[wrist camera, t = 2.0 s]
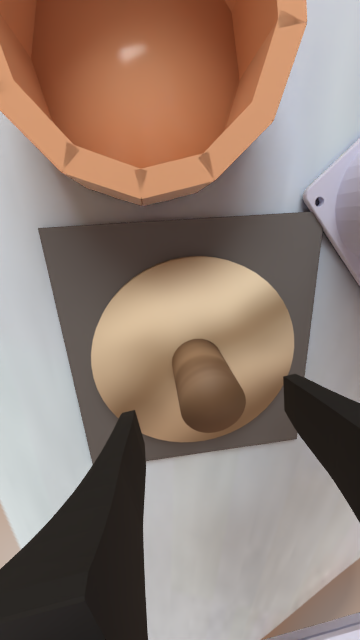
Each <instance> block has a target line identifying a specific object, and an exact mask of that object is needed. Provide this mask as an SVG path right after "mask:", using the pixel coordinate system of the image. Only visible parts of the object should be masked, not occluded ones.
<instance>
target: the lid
mask: <svg viewBox="0 0 360 640" xmlns="http://www.w3.org/2000/svg"><path fill="white" fill-rule="evenodd" d="M293 353H294V331H293V325H292V321H291V318H290V315H289V312H288V310H287V308H286V306H285V304H284V302H283V300H282V299H281V297H280V296H279V294H278V293H277V291H276V290H275V289H274V288H273V287H272V286H271V285H270V284H269V283H268V282H267V281H266V280H265V279H263V278H262V277H261V276H259V275H258V274H257V273H255V272H253V271H251V270H250V269H248V268H246V267H244V266H242V265H239V264H236V263H234V262H231V261H229V260H225V259H220V258H216V257H207V256H188V257H181V258H176V259H171V260H168V261H165V262H162V263H159V264H156V265H154V266H152V267H150V268H148V269H146V270H144V271H142V272H141V273H139V274H138V275H136V276H135V277H133V278H132V279H131V280H129V281H128V282H127V283H126V284H125V285H124V286H123V287H122V288H120V290H119V291H118V292H117V293H116V294H115V295H114V297H113V298H112V299H111V301H110V302H109V304H108V305H107V307H106V308H105V310H104V312H103V314H102V316H101V318H100V320H99V323H98V325H97V327H96V330H95V334H94V337H93V342H92V350H91V366H92V372H93V378H94V381H95V384H96V387H97V389H98V391H99V393H100V395H101V397H102V399H103V401H104V402H105V404H106V405H107V406H108V408H109V409H110V410H111V411H112V412H113V413H114V414H115V415H116V417H117V418H119V417H120V415H121V414H122V413H123V412H128V411H132V410H135V412H136V415H137V418H138V422H139V425H140V429H141V432H142V434H144V435H147V436H150V437H153V438H156V439H160V440H165V441H171V442H197V441H205V440H209V439H213V438H217V437H220V436H223V435H226V434H228V433H231V432H233V431H235V430H237V429H239V428H241V427H242V426H244V425H246V424H247V423H249V422H250V421H252V420H253V419H254V418H256V417H257V416H258V415H259V414H260V413H261V412H263V411H264V410H265V409H266V408H267V407H268V405H269V404H270V403H271V402H272V401H273V400H274V398H275V397H276V396H277V394H278V393H279V391H280V390H281V388H282V386H283V376H287V375H288V373H289V371H290V367H291V364H292V360H293Z"/></svg>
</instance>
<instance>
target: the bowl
mask: <svg viewBox="0 0 360 640" xmlns="http://www.w3.org/2000/svg"><path fill="white" fill-rule="evenodd" d="M306 25H307V8H306V0H0V111H1V112H2V113H3V114H4V115H5V116H6V117H7V118H8V119H9V120H10V121H11V122H12V123H13V124H14V125H15V126H16V127H17V128H18V129H19V130H20V131H21V132H22V133H23V134H24V135H25V136H26V137H27V138H28V139H29V140H30V141H31V142H32V143H33V144H34V145H35V146H36V147H37V148H38V149H39V150H40V151H41V152H42V153H43V154H44V155H45V156H46V157H47V158H48V159H49V160H50V161H51V162H52V163H53V164H54V165H55V166H56V167H57V168H58V169H59V171H60V172H62V173H63V174H65V175H66V176H68V177H70V178H71V179H73V180H74V181H76V182H77V183H79V184H81V185H82V186H84V187H85V188H88V189H91V190H94V191H97V192H100V193H103V194H106V195H109V196H111V197H114V198H117V199H121V200H125V201H128V202H131V203H134V204H137V205H140V206H142V205H143V206H146V205H150V204H154V203H158V202H164V201H169V200H172V199H175V198H178V197H182V196H186V195H190V194H194V193H197V192H199V191H200V190H202V189H203V188H205V187H206V186H208V185H209V184H211V183H212V182H214V181H215V180H216V179H217V178H218V177H219V176H220V175H221V174H222V173H223V172H224V171H225V170H226V169H227V168H228V167H229V166H230V165H231V164H232V163H233V162H234V161H235V160H236V159H237V158H238V157H239V156H240V155H241V154H242V153H243V152H244V151H245V150H246V149H247V148H248V147H249V146H250V145H251V143H252V142H253V141H254V140H255V139H256V138H257V137H258V136H259V135H260V134H261V133H262V132H263V131H264V130H265V129H266V128H267V127H268V126H269V125H270V124H271V123H272V122H273V121H274V118H275V115H276V112H277V109H278V106H279V103H280V100H281V97H282V95H283V92H284V89H285V86H286V83H287V80H288V77H289V74H290V71H291V68H292V65H293V62H294V60H295V57H296V54H297V51H298V48H299V45H300V42H301V39H302V36H303V33H304V30H305V27H306Z"/></svg>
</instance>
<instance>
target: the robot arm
mask: <svg viewBox="0 0 360 640" xmlns="http://www.w3.org/2000/svg"><path fill="white" fill-rule="evenodd" d="M317 198H318V199H319V201H320V202H319V205H318V206H316V205H315V200H316V199H317ZM303 200H304V202H305V204H306V205H307V207H308V208H309V210H310V211H311V212H313V213H314V215H315V217H316V218H317V220H318V221H319V223H320V224H321V226H322V227H323V231H324V233H325V234H326V236H327V237H328V239H329V240H330V242H331V243H332V245H333V246H334V248H335V249H336V251H337V253H338V254H339V256H340V257H341V259H342V260H343V262H344V263H345V265H346V266H347V268H348V269H349V271H350V272H351V274H352V275H353V277H354V278H355V280H356V282H357V283H358V285H359V286H360V138H359V139H358V140H357V141H356V142H355V143H354V144H353V145H352V146H351V147H350V148H349V149H347V150H346V151H345V152H344V153H343V154H342V155H341V156H340V157H339V158H338V159H337V160H336V161H335V162H334V163H333V164H332V165H331V166H329V167H328V168H327V169H326V170H325V171H324V172H323V173H322V174H321V175H320V176H319V177H318V178H317V179H316V180H315V181H314V182H313V183H311V184H310V185H309V186H308V187H307V188H306V190H305V191H304V193H303ZM283 386H284V411H285V412H286V414H287V416H288V418H289V420H290V421H291V423H292V425H293V426H294V428H295V430H296V431H297V432H298V434H299V435H300V436H301V438H302V439H303V440H304V442H305V443H306V444H307V446H308V447H309V448H310V450H311V451H312V452H313V454H314V455H315V456H316V457H317V459H318V460H319V461H320V463H321V464H322V465H323V467H324V468H325V469H326V471H327V472H328V473H329V475H330V476H331V477H332V479H333V480H334V482H335V483H336V485H337V486H338V488H339V489H340V491H341V493H342V494H343V496H344V497H345V499H346V501H347V502H348V504H349V505H350V507H351V509H352V510H353V512H354V514H355V515H356V517H357V519H358V520H359V522H360V403H358V402H355V401H353V400H351V399H348V398H346V397H344V396H342V395H339V394H337V393H335V392H333V391H331V390H329V389H327V388H324V387H322V386H320V385H318V384H316V383H314V382H312V381H310V380H308V379H306V378H304V377H302V376H300V375H297V374H291V375H287V376H283ZM145 476H146V456H145V443H144V439H143V436H142V432H141V429H140V425H139V422H138V418H137V415H136V412H135V410H132V411H128V412H123V413H122V414H121V415H120V417H119V419H118V421H117V423H116V425H115V427H114V429H113V431H112V433H111V435H110V437H109V438H108V440H107V442H106V444H105V446H104V447H103V449H102V451H101V453H100V454H99V456H98V457H97V459H96V461H95V462H94V464H93V465H92V467H91V469H90V470H89V472H88V473H87V474H86V476H85V477H84V479H83V480H82V482H81V483H80V484H79V486H78V487H77V488H76V490H75V491H74V492H73V494H72V495H71V496H70V497H69V499H68V500H67V501H66V502H65V503H64V505H63V506H62V507H61V508H60V509H59V510H58V512H57V513H56V514H55V515H54V516H53V517H52V519H51V520H50V521H49V522H48V523H47V524H46V525H45V526H44V527H43V528H42V529H41V530H40V531H39V532H38V533H37V534H36V535H35V537H34V538H33V539H32V540H31V541H30V542H29V543H28V544H27V545H26V546H25V547H24V548H22V549H21V550H20V551H19V552H18V553H17V554H16V555H15V556H14V557H13V558H12V559H11V560H10V561H9V562H8V563H6V564H5V565H4V566H3V567H2V568H1V569H0V640H148V634H147V616H146V597H145V575H144V548H143V513H144V495H145ZM264 640H360V612H359V613H355V614H352V615H348V616H345V617H341V618H338V619H335V620H331V621H327V622H324V623H320V624H317V625H313V626H310V627H306V628H303V629H299V630H296V631H292V632H289V633H285V634H282V635H278V636H275V637H271V638H268V639H264Z"/></svg>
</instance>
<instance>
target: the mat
mask: <svg viewBox="0 0 360 640" xmlns="http://www.w3.org/2000/svg"><path fill="white" fill-rule="evenodd" d="M38 230H39V235H40V239H41V243H42V248H43V252H44V256H45V261H46V265H47V269H48V273H49V278H50V282H51V286H52V291H53V295H54V299H55V304H56V308H57V312H58V317H59V321H60V325H61V329H62V334H63V338H64V342H65V347H66V351H67V355H68V360H69V364H70V368H71V372H72V377H73V381H74V385H75V390H76V394H77V398H78V403H79V407H80V411H81V416H82V420H83V424H84V428H85V433H86V437H87V441H88V446H89V450H90V454H91V459H92V463H93V464H94V462H95V461H96V459H97V457H98V456H99V454H100V453H101V451H102V449H103V447H104V446H105V444H106V442H107V440H108V438H109V437H110V435H111V433H112V431H113V429H114V427H115V425H116V423H117V421H118V419H119V418H117V417H116V415H115V414H114V413H113V412H112V411H111V410H110V409H109V408H108V406H107V405H106V404H105V402H104V401H103V399H102V397H101V395H100V393H99V391H98V389H97V387H96V384H95V381H94V378H93V372H92V366H91V350H92V342H93V337H94V334H95V330H96V327H97V325H98V323H99V320H100V318H101V316H102V314H103V312H104V310H105V308H106V307H107V305H108V304H109V302H110V301H111V299H112V298H113V297H114V295H115V294H116V293H117V292H118V291H119V290H120V288H122V287H123V286H124V285H125V284H126V283H127V282H128V281H129V280H131V279H132V278H133V277H135V276H136V275H138V274H139V273H141V272H142V271H144V270H146V269H148V268H150V267H152V266H154V265H156V264H159V263H162V262H165V261H168V260H171V259H176V258H181V257H188V256H207V257H216V258H220V259H225V260H229V261H231V262H234V263H236V264H239V265H242V266H244V267H246V268H248V269H250V270H251V271H253V272H255V273H257V274H258V275H259V276H261V277H262V278H263V279H265V280H266V281H267V282H268V283H269V284H270V285H271V286H272V287H273V288H274V289H275V290H276V291H277V293H278V294H279V296H280V297H281V299H282V300H283V302H284V304H285V306H286V308H287V310H288V312H289V315H290V318H291V321H292V325H293V331H294V353H293V360H292V364H291V367H290V371H289V373H288V375H291V374H297V375H300V376H302V377H304V376H305V368H306V360H307V351H308V343H309V335H310V327H311V319H312V311H313V303H314V295H315V287H316V279H317V271H318V263H319V255H320V247H321V239H322V231H323V227H322V226H321V224H320V223H319V221H318V220H317V218H316V217H315V215H314V213H313V212H300V213H283V214H267V215H250V216H233V217H217V218H200V219H184V220H167V221H150V222H134V223H117V224H100V225H84V226H67V227H50V228H38ZM142 436H143V439H144V443H145V456H146V461H149V460H155V459H162V458H169V457H176V456H183V455H190V454H197V453H204V452H211V451H217V450H224V449H231V448H238V447H245V446H252V445H259V444H266V443H273V442H280V441H286V440H293V439H297V431H296V430H295V428H294V426H293V425H292V423H291V421H290V420H289V418H288V416H287V414H286V412H285V411H284V386H282V388H281V390H280V391H279V393H278V394H277V396H276V397H275V398H274V400H273V401H272V402H271V403H270V404H269V405H268V407H267V408H266V409H265V410H264V411H263V412H261V413H260V414H259V415H258V416H257V417H256V418H254V419H253V420H252V421H250V422H249V423H247V424H246V425H244V426H242V427H241V428H239V429H237V430H235V431H233V432H231V433H228V434H226V435H223V436H220V437H217V438H213V439H209V440H205V441H197V442H171V441H165V440H160V439H156V438H153V437H150V436H147V435H144V434H142Z"/></svg>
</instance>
